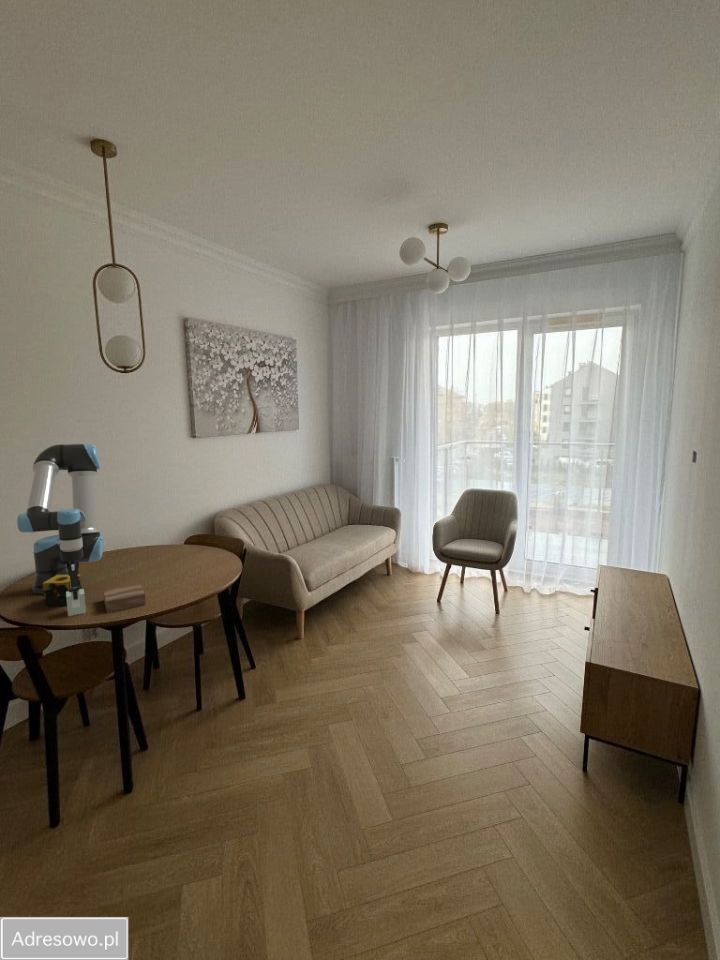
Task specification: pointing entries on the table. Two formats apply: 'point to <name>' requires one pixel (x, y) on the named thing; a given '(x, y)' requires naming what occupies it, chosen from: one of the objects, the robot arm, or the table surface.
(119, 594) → the walnut block
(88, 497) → the robot arm
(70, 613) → the sage block
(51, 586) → the candle
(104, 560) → the table surface
